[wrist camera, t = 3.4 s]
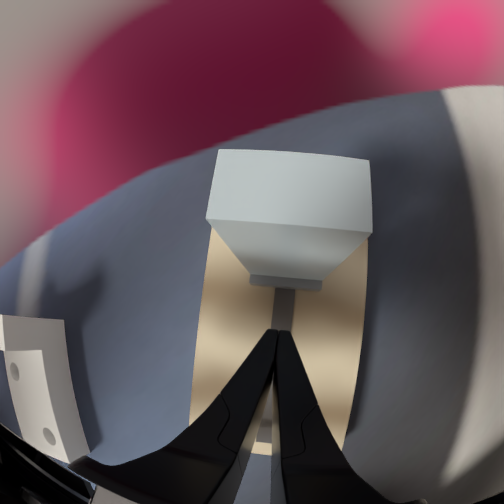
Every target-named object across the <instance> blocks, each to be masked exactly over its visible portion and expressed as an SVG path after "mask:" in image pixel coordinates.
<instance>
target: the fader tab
mask: <svg viewBox="0 0 504 504" xmlns="http://www.w3.org/2000/svg"><path fill="white" fill-rule="evenodd" d="M206 220H207V221H208V222H209V223H210V225H211V226H212V227H213V228H214V230H215V231H216V232H217V233H218V235H219V236H220V237H221V238H222V240H223V241H224V242H225V243H226V245H227V246H228V247H229V248H230V250H231V251H232V252H233V253H234V255H235V256H236V257H237V258H238V260H239V261H240V262H241V263H242V265H243V266H244V267H245V268H246V270H247V271H248V272H249V273H250V279H249V283H250V284H251V285H254V286H263V287H274V288H284V289H295V290H307V291H320V290H322V281H323V280H324V279H325V278H326V277H327V276H328V275H329V274H330V273H331V272H332V271H333V270H334V269H336V268H337V267H338V266H339V265H340V264H341V263H342V262H343V261H344V260H345V259H346V258H347V257H348V256H349V255H350V254H351V253H352V252H353V251H354V250H355V249H357V248H358V247H359V246H360V245H361V244H362V243H363V242H364V241H365V240H366V239H367V238H368V237H369V236H370V235H371V234H372V233H373V225H372V195H371V178H370V165H369V160H363V159H356V158H348V157H340V156H331V155H321V154H311V153H299V152H285V151H266V150H233V149H219V151H218V156H217V161H216V166H215V171H214V176H213V182H212V187H211V192H210V198H209V203H208V209H207V215H206Z"/></svg>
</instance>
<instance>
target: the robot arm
mask: <svg viewBox="0 0 504 504" xmlns="http://www.w3.org/2000/svg"><path fill="white" fill-rule="evenodd" d="M278 332H279V333H278ZM273 373H274V374H273ZM272 380H273V383H272ZM271 385H272V457H271V499H270V504H428V503H427V502H426V500H425V499H418V500H414V501H409V502H405V503H395V502H392V501H389V500H388V499H386V498H385V497H384V496H382V495H381V494H380V493H379V492H377V491H376V490H375V489H374V488H373V487H371V486H370V485H369V484H368V483H367V482H365V481H364V480H363V479H362V478H361V477H360V476H358V475H357V474H356V473H355V471H354V470H353V469H352V468H351V466H350V465H349V463H348V462H347V460H346V458H345V456H344V455H343V453H342V451H341V449H340V448H339V446H338V444H337V442H336V441H335V439H334V437H333V435H332V433H331V431H330V429H329V427H328V426H327V423H326V421H325V419H324V416H323V414H322V411H321V409H320V406H319V405H318V401H317V399H316V396H315V393H314V391H313V388H312V386H311V383H310V380H309V378H308V375H307V373H306V370H305V367H304V365H303V362H302V360H301V357H300V355H299V352H298V349H297V347H296V344H295V342H294V339H293V337H292V334H291V332H290V331H289V330H279V331H278V330H277V329H267V330H266V331H265V333H264V334H263V335H262V337H261V338H260V340H259V341H258V342H257V344H256V345H255V347H254V348H253V349H252V351H251V352H250V353H249V355H248V356H247V357H246V359H245V360H244V362H243V363H242V364H241V366H240V367H239V368H238V370H237V371H236V372H235V374H234V375H233V376H232V377H231V379H230V380H229V381H228V383H227V384H226V385H225V387H224V388H223V389H222V391H221V392H220V394H218V395H217V397H216V398H215V399H214V401H213V402H212V403H211V404H210V405H209V406H208V408H207V409H206V410H205V411H204V412H203V413H202V414H201V415H200V416H199V417H198V418H197V419H196V420H195V421H194V422H193V423H192V424H191V425H190V426H188V427H187V428H186V429H185V430H184V431H183V432H182V433H181V434H179V435H178V436H177V437H176V438H175V439H174V440H173V441H171V442H170V443H169V444H167V445H166V446H164V447H163V448H161V449H159V450H157V451H155V452H152V453H150V454H147V455H145V456H142V457H140V458H137V459H134V460H132V461H129V462H126V463H123V464H120V465H116V466H109V465H104V464H102V463H99V462H98V461H96V460H94V459H92V458H90V457H88V456H85V455H83V456H81V457H80V458H78V459H76V460H74V461H73V462H71V463H70V464H69V466H68V468H69V469H71V470H72V471H74V472H75V473H77V474H78V475H80V476H82V477H84V478H85V479H87V480H89V481H91V482H93V483H95V484H96V487H95V490H94V491H93V488H92V486H91V484H90V483H89V482H88V481H86V480H84V479H82V478H81V477H79V476H77V475H75V474H74V473H72V472H71V471H69V470H67V469H66V468H64V467H63V466H61V465H60V464H58V463H57V462H55V461H54V460H52V459H51V458H49V457H48V456H46V455H45V454H43V453H42V452H40V451H39V450H38V449H36V448H35V447H33V446H32V445H30V444H29V443H27V442H26V441H25V440H23V439H22V438H20V437H19V436H18V435H16V434H15V433H14V432H12V431H11V430H10V429H8V428H7V427H6V426H4V425H3V424H2V423H1V422H0V504H233V503H234V500H235V497H236V495H237V492H238V489H239V486H240V484H241V481H242V477H243V475H244V472H245V469H246V466H247V463H248V460H249V457H250V454H251V451H252V448H253V445H254V442H255V439H256V436H257V433H258V429H259V426H260V423H261V420H262V416H263V413H264V410H265V406H266V403H267V400H268V396H269V393H270V389H271ZM472 504H504V490H503V491H500V492H498V493H496V494H494V495H491V496H489V497H487V498H484V499H482V500H479V501H477V502H474V503H472Z"/></svg>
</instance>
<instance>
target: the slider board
mask: <svg viewBox="0 0 504 504" xmlns="http://www.w3.org/2000/svg"><path fill="white" fill-rule="evenodd" d="M367 262H368V238H367V239H366V240H365V241H364V242H363V243H362V244H361V245H360V246H359V247H358V248H357V249H355V250H354V251H353V252H352V253H351V254H350V255H349V256H348V257H347V258H346V259H345V260H344V261H343V262H342V263H341V264H340V265H339V266H338V267H337V268H336V269H334V270H333V271H332V272H331V273H330V274H329V275H328V276H327V277H326V278H325V279H324V280H323V281H322V290H320V291H307V290H295V289H284V288H274V287H263V286H254V285H251V284H250V283H249V279H250V273H249V272H248V271H247V270H246V268H245V267H244V266H243V265H242V263H241V262H240V261H239V260H238V258H237V257H236V256H235V255H234V253H233V252H232V251H231V250H230V248H229V247H228V246H227V245H226V243H225V242H224V241H223V240H222V238H221V237H220V236H219V235H218V233H217V232H216V231H215V230H214V228H213V227H212V231H211V237H210V243H209V250H208V257H207V264H206V271H205V278H204V285H203V293H202V300H201V308H200V316H199V325H198V333H197V342H196V352H195V361H194V372H193V382H192V394H191V406H190V419H189V426H190V425H191V424H192V423H193V422H194V421H195V420H196V419H197V418H198V417H199V416H200V415H201V414H202V413H203V412H204V411H205V410H206V409H207V408H208V406H209V405H210V404H211V403H212V402H213V401H214V399H215V398H216V397H217V395H218V394H220V392H221V391H222V389H223V388H224V387H225V385H226V384H227V383H228V381H229V380H230V379H231V377H232V376H233V375H234V374H235V372H236V371H237V370H238V368H239V367H240V366H241V364H242V363H243V362H244V360H245V359H246V357H247V356H248V355H249V353H250V352H251V351H252V349H253V348H254V347H255V345H256V344H257V342H258V341H259V340H260V338H261V337H262V335H263V334H264V333H265V331H266V330H267V329H277V330H278V331H279V330H289V331H290V332H291V334H292V337H293V339H294V342H295V344H296V347H297V349H298V352H299V355H300V357H301V360H302V362H303V365H304V367H305V370H306V373H307V375H308V378H309V380H310V383H311V386H312V388H313V391H314V393H315V396H316V399H317V401H318V405H319V406H320V409H321V411H322V414H323V416H324V419H325V421H326V423H327V426H328V427H329V429H330V431H331V433H332V435H333V437H334V439H335V441H336V442H337V444H338V446H339V448H340V449H341V450H342V446H343V443H344V438H345V434H346V430H347V426H348V421H349V416H350V412H351V407H352V402H353V396H354V391H355V385H356V379H357V373H358V366H359V359H360V351H361V343H362V335H363V325H364V314H365V302H366V286H367ZM278 333H279V332H278ZM273 374H274V373H273ZM272 383H273V380H272ZM251 453H256V454H265V455H272V385H271V389H270V393H269V396H268V400H267V403H266V406H265V410H264V413H263V416H262V420H261V423H260V426H259V429H258V433H257V436H256V439H255V442H254V445H253V448H252V451H251Z"/></svg>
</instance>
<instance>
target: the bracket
mask: <svg viewBox="0 0 504 504" xmlns="http://www.w3.org/2000/svg"><path fill="white" fill-rule="evenodd" d="M0 350H2V351H4V358H5V365H6V371H7V377H8V382H9V387H10V392H11V396H12V401H13V405H14V409H15V413H16V416H17V420H18V423H19V427H20V430H21V433H22V436H23V439H24V440H25V441H26V442H27V443H29V444H30V445H32V446H33V447H35V448H36V449H38V450H39V451H40V452H42V453H44V454H46V455H49V456H51V457H53V458H56V459H58V460H61V461H63V462H66V463H68V464H70V463H71V462H73V461H74V460H76V459H78V458H80V457H81V456H83V455H87V454H89V453H90V450H89V447H88V444H87V441H86V438H85V434H84V431H83V427H82V424H81V420H80V416H79V412H78V408H77V404H76V399H75V395H74V390H73V385H72V379H71V374H70V368H69V361H68V354H67V346H66V337H65V326H64V320H60V319H45V318H32V317H21V316H11V315H0Z"/></svg>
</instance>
